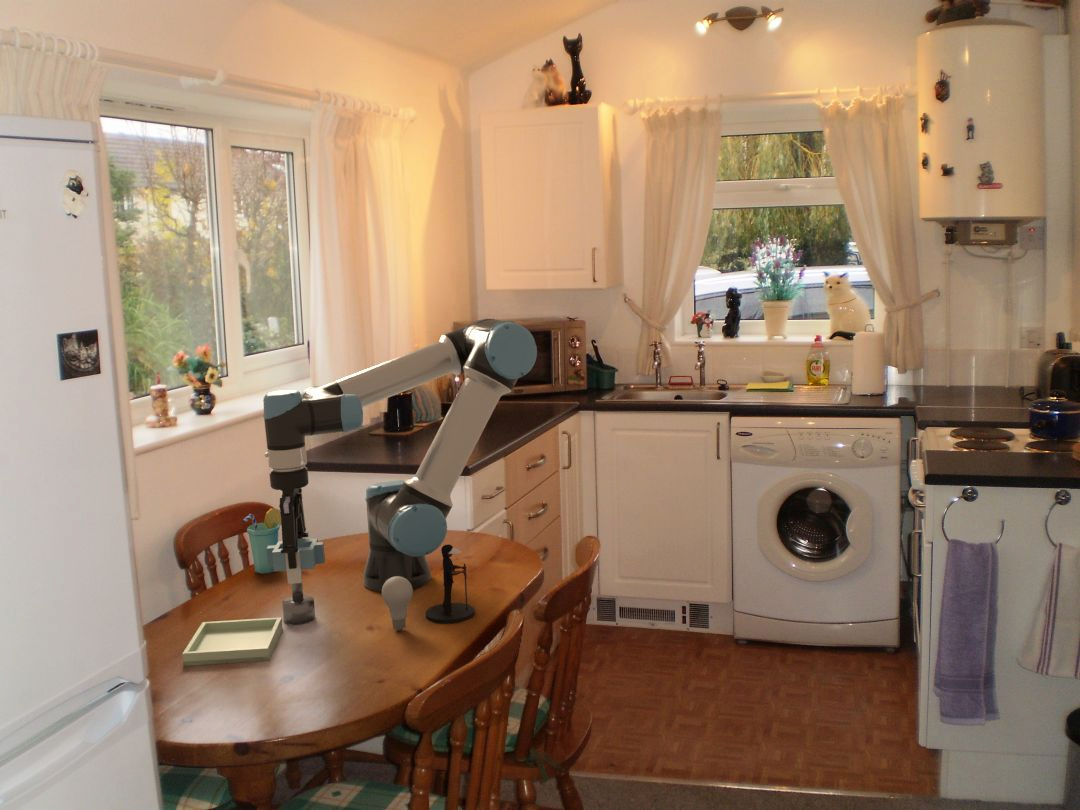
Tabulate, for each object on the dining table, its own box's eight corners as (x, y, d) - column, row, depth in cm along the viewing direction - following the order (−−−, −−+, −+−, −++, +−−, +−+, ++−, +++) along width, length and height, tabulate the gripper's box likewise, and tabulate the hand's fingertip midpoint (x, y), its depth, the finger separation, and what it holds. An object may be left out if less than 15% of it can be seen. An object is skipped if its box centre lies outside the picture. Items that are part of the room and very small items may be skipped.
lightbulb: (420, 626, 220) (417, 573, 218) (406, 637, 214) (403, 582, 212) (392, 623, 222) (389, 571, 220) (378, 634, 216) (375, 580, 214)
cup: (263, 581, 252) (257, 518, 250) (233, 579, 255) (228, 516, 252) (294, 563, 265) (289, 502, 263) (266, 561, 268) (261, 501, 265)
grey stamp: (317, 612, 230) (313, 555, 228) (313, 623, 223) (308, 564, 221) (286, 614, 229) (281, 557, 227) (281, 625, 223) (276, 566, 221)
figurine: (477, 621, 222) (474, 549, 219) (427, 626, 220) (423, 553, 217) (471, 604, 231) (468, 535, 229) (423, 609, 230) (420, 540, 227)
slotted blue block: (265, 572, 220) (263, 552, 220) (272, 560, 228) (270, 541, 228) (322, 568, 221) (320, 548, 220) (326, 556, 229) (325, 537, 228)
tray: (282, 628, 221) (281, 617, 221) (268, 660, 205) (267, 648, 205) (203, 633, 220) (202, 622, 220) (183, 665, 204) (182, 653, 204)
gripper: (277, 457, 231) (287, 561, 235) (260, 480, 211) (271, 594, 215) (313, 455, 232) (322, 559, 236) (299, 478, 211) (309, 591, 215)
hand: (298, 575), depth 225 cm, fingers closed on slotted blue block, 8 cm apart
